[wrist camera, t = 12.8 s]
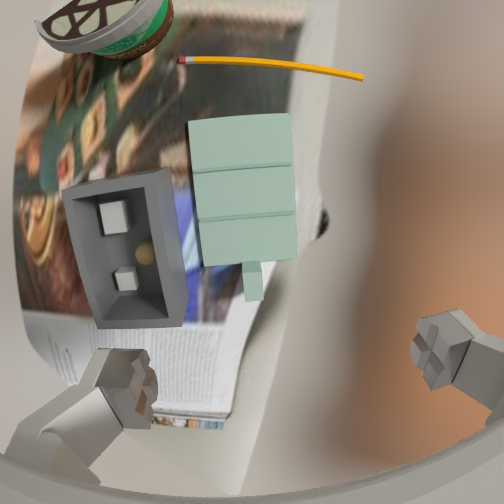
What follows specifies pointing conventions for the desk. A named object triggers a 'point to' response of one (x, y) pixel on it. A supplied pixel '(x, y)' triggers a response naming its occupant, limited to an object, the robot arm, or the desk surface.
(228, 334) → the desk surface
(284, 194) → the lid
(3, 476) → the robot arm
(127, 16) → the food container
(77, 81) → the desk surface
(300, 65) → the pencil
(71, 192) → the tub
